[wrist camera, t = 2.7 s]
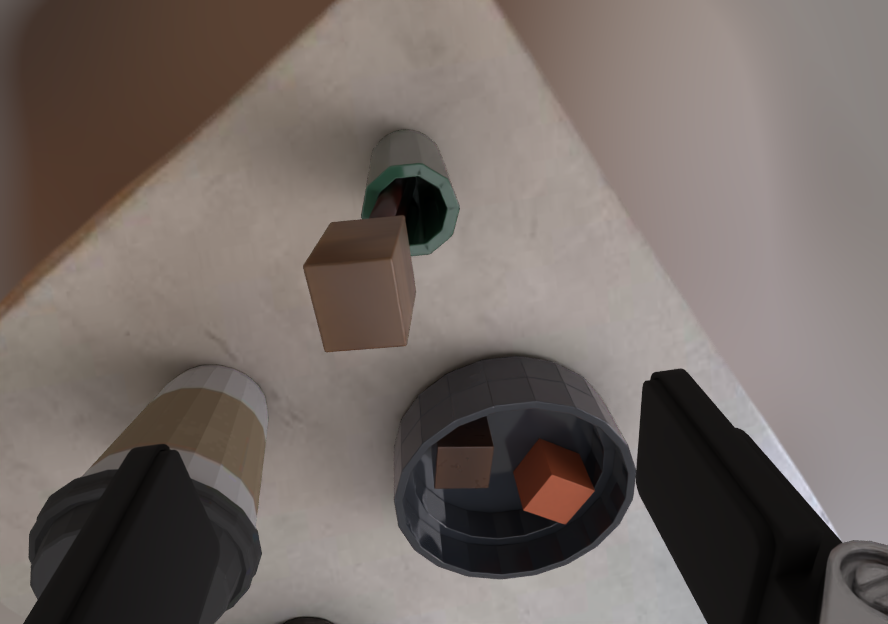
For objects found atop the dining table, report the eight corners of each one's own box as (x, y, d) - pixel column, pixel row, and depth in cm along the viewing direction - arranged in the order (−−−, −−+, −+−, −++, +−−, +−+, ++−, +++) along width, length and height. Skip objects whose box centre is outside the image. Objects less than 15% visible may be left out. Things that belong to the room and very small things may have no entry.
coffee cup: (103, 407, 39) (-43, 601, 26) (198, 307, 36) (86, 470, 23) (234, 484, 44) (165, 683, 31) (329, 401, 41) (297, 583, 28)
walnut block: (485, 410, 42) (494, 446, 38) (481, 450, 43) (488, 488, 40) (433, 410, 41) (437, 447, 38) (430, 451, 43) (434, 489, 40)
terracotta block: (579, 453, 44) (595, 490, 41) (552, 486, 46) (565, 524, 42) (539, 437, 43) (551, 474, 40) (512, 472, 45) (522, 510, 41)
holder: (450, 137, 32) (469, 173, 25) (433, 210, 34) (445, 265, 27) (377, 119, 32) (372, 152, 24) (364, 195, 34) (355, 248, 26)
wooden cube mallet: (426, 139, 32) (392, 257, 16) (433, 193, 33) (407, 347, 18) (379, 144, 32) (301, 265, 17) (388, 197, 33) (324, 353, 18)
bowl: (639, 371, 42) (675, 421, 37) (565, 526, 49) (585, 587, 44) (420, 335, 39) (425, 384, 33) (377, 506, 46) (375, 569, 41)
